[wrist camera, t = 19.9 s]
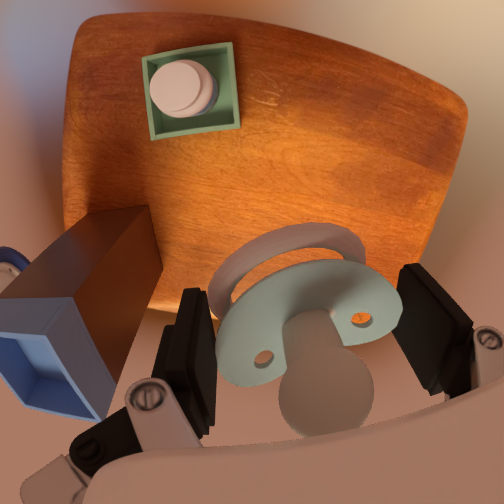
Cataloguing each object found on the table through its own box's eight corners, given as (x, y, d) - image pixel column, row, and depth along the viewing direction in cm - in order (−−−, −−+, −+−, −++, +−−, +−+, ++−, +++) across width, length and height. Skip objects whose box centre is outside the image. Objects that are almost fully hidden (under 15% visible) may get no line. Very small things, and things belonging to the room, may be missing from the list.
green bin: (161, 137, 36) (150, 140, 31) (152, 62, 31) (141, 57, 27) (240, 126, 35) (240, 128, 31) (233, 49, 31) (232, 41, 27)
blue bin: (104, 274, 44) (24, 407, 20) (86, 214, 40) (-31, 327, 16) (163, 269, 44) (104, 423, 20) (148, 204, 39) (45, 335, 16)
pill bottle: (206, 61, 31) (191, 41, 21) (227, 102, 33) (221, 99, 23) (162, 84, 32) (130, 75, 22) (183, 124, 34) (159, 131, 24)
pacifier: (178, 265, 12) (243, 365, 14) (134, 388, 6) (246, 481, 8) (354, 188, 11) (386, 308, 13) (456, 263, 5) (449, 409, 7)
